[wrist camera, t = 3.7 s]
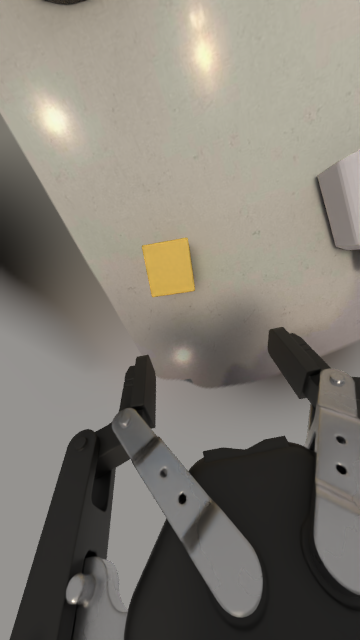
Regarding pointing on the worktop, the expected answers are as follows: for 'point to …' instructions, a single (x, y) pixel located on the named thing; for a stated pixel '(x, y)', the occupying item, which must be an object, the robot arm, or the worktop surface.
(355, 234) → the charger
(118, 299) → the worktop surface
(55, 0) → the pan
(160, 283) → the cheese
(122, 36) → the worktop surface
